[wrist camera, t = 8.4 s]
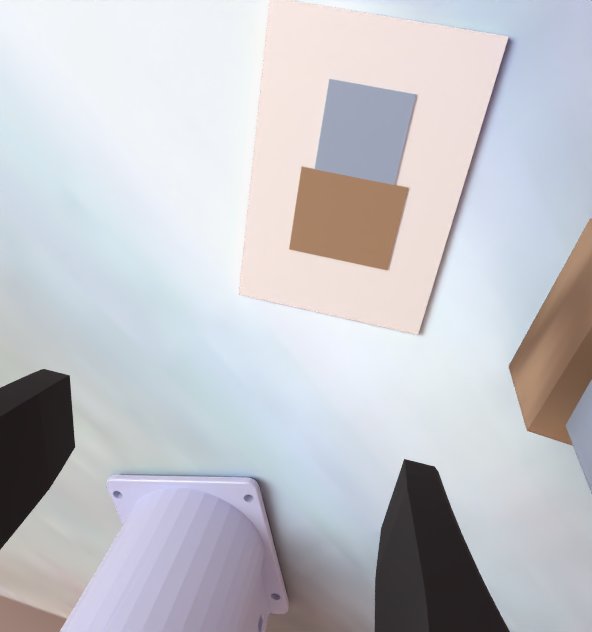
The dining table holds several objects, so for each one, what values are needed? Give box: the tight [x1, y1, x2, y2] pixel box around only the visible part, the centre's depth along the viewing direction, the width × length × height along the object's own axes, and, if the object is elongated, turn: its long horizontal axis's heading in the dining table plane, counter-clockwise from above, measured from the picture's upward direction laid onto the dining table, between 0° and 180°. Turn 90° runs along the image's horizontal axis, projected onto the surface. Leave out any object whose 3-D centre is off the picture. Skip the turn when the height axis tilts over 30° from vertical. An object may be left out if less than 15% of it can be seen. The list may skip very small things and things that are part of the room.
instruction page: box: [239, 0, 509, 335], centre depth 18 cm, size 10×7×1 cm
